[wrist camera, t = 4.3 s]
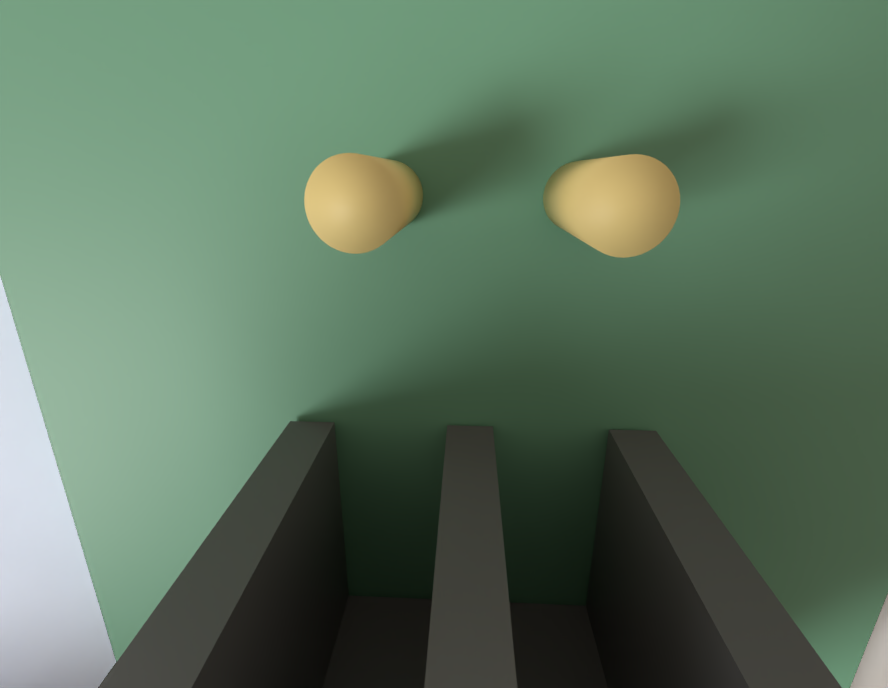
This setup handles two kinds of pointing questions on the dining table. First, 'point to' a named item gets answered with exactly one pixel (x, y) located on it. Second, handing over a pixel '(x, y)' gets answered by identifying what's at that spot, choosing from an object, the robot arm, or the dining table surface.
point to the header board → (458, 273)
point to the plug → (468, 591)
